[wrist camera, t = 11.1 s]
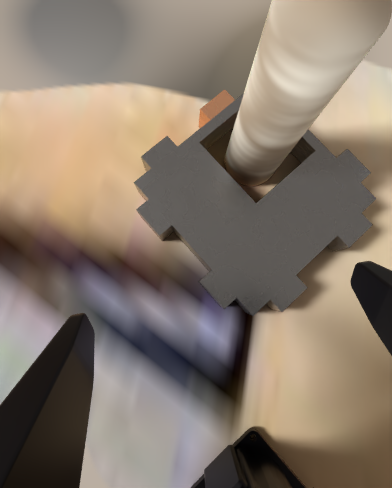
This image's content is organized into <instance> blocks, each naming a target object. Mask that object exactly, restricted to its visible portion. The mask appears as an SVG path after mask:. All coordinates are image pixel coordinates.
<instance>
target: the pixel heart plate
mask: <svg viewBox="0 0 392 488" xmlns="http://www.w3.org/2000/svg"><path fill="white" fill-rule="evenodd" d="M243 95H244V93H243V94H242V95H241V96H239V97H238V98H237V99H236V100H234V99H233V98H232V97H231V96H230V95H229V93H227V91H225V90H223V91H222V92H221V93H220V94H218V95H217V96H216V97H215V98H214V99H212V100H211V101H210V102H209V103H207V104H206V105H205V106H204V107H202V108H201V109H200V118H199V128H200V129H199V130H198V131H196V132H195V133H194V134H193V135H192V136H190V137H189V138H188V139H187V140H185V141H184V142H183V143H182V144H181V145H179V146H178V147H177V146H176V145H175V144H174V143H173V142H172V140H171V139H170V138H169V137H168V136H166V137H165V138H164V139H163V140H161V141H160V142H159V143H158V144H156V145H155V146H154V147H153V148H151V149H150V150H149V151H148V152H146V153H145V154H144V155H143V156H141V158H142V161H143V164H144V167H145V170H146V171H147V172H146V173H145V174H144V175H142V176H141V177H140V178H139V179H138V180H136V181H135V182H134V184H135V186H136V188H137V190H138V192H139V193H140V194H141V196H142V197H143V198H144V199H145V200H146V202H145V203H144V204H142V205H141V206H140V207H139V208H138V209H136V210H137V211H138V213H139V214H140V216H141V217H142V219H143V220H144V221H145V222H146V223H147V224H148V225H149V227H150V228H151V229H152V230H153V231H154V232H155V233H156V234H157V236H158V237H159V238H160V239H161V240H162V241H163V240H164V239H165V238H166V237H168V236H169V235H170V234H171V233H172V232H173V231H174V233H175V234H176V235H177V236H178V237H179V238H180V239H181V240H182V242H183V243H184V244H185V245H186V246H187V247H188V248H189V249H190V251H191V252H192V253H193V254H194V255H195V256H196V257H197V258H198V259H199V261H200V262H201V263H202V264H203V265H204V266H205V267H206V268H207V270H208V271H209V273H208V274H206V275H205V276H204V277H203V278H202V279H201V280H200V281H199V283H200V284H201V285H202V286H203V288H204V289H205V290H206V291H207V292H208V293H209V294H210V295H211V297H212V298H213V299H214V300H215V301H216V302H217V303H218V305H219V306H220V307H222V308H223V309H225V308H226V307H227V306H228V305H229V304H230V303H232V302H233V301H234V300H235V301H236V302H237V303H238V304H239V305H240V307H241V308H242V309H243V310H244V311H245V312H246V313H248V314H250V315H252V316H254V315H255V314H256V313H257V312H258V311H259V310H260V309H261V308H262V307H263V306H264V305H265V304H267V305H268V306H269V307H270V308H271V309H272V310H276V311H279V312H283V311H284V310H285V309H286V308H287V307H288V306H289V305H290V304H291V303H292V302H293V301H294V300H295V299H296V298H297V297H298V296H299V295H300V294H301V293H303V292H304V291H305V290H306V289H307V288H308V287H307V286H306V285H305V284H304V283H303V282H302V281H301V280H300V279H299V278H298V277H297V276H296V275H297V274H298V273H299V272H300V271H301V270H302V269H303V268H304V267H305V266H306V265H307V264H308V263H309V262H310V261H311V260H312V259H313V258H315V257H316V256H317V255H318V254H319V253H320V252H321V251H322V250H323V249H324V248H325V247H326V246H327V247H328V248H329V249H330V250H331V251H336V250H341V249H345V248H349V247H350V246H351V245H352V244H353V243H354V242H355V241H356V240H357V239H359V238H360V237H361V236H362V235H363V234H364V233H365V232H366V231H367V230H368V229H369V228H370V227H371V226H372V225H373V224H372V223H371V222H370V221H369V220H368V219H367V218H366V217H365V216H364V215H363V214H362V212H363V211H364V210H365V209H366V208H367V207H368V206H369V205H370V204H371V203H372V202H373V201H375V200H376V198H375V197H374V196H373V195H372V194H371V193H370V192H369V191H368V190H367V189H366V188H365V187H364V186H363V185H362V183H361V182H362V181H363V180H364V179H365V178H366V177H367V176H368V175H369V174H370V173H371V172H370V171H369V170H368V169H367V168H366V167H365V166H364V165H363V164H362V163H361V162H360V161H359V160H358V159H357V158H356V157H355V156H354V155H353V154H352V153H351V152H350V151H349V150H348V149H346V150H345V151H344V152H343V153H341V154H340V155H339V156H338V157H337V158H336V157H335V156H334V155H333V154H332V153H331V152H330V151H329V150H328V149H327V148H326V147H325V146H324V145H323V144H322V143H321V142H320V141H319V140H318V139H317V138H316V137H315V136H314V135H313V134H312V133H311V132H310V131H309V130H307V131H306V132H305V134H304V135H303V136H302V137H301V139H300V140H299V141H298V143H297V144H296V145H295V146H294V148H293V149H292V150H291V153H292V154H293V155H294V156H295V157H296V158H297V159H298V160H299V161H300V162H301V164H300V165H299V166H298V167H297V168H296V169H294V170H293V171H292V172H291V173H290V174H289V175H288V176H287V177H285V178H284V179H283V180H282V181H281V182H280V183H279V184H278V185H276V186H275V187H274V188H273V189H272V190H271V191H270V192H269V193H267V194H266V195H265V196H264V197H263V198H262V199H261V200H259V201H258V202H257V203H255V202H254V200H253V199H252V198H251V197H250V196H249V195H248V194H247V193H246V192H245V191H244V190H243V189H242V188H241V187H240V185H239V184H238V183H237V182H236V181H235V180H234V179H233V178H232V177H231V176H230V175H229V174H228V173H227V172H226V171H225V169H224V168H223V167H222V166H221V165H220V164H219V163H218V162H217V161H216V160H215V159H214V158H213V157H212V156H211V154H210V153H209V152H208V151H207V149H208V148H209V147H210V146H212V145H213V144H214V143H215V142H216V141H218V140H219V139H220V138H221V137H222V136H224V135H225V134H226V133H227V132H228V131H230V130H231V129H232V128H233V127H234V125H235V121H236V118H237V115H238V111H239V108H240V105H241V102H242V98H243Z"/></svg>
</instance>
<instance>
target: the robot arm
mask: <svg viewBox="0 0 392 488" xmlns="http://www.w3.org/2000/svg"><path fill="white" fill-rule="evenodd" d="M351 286H352V289H353V291H354V292H355V294H356V296H357V298H358V300H359V302H360V304H361V306H362V308H363V310H364V312H365V314H366V315H367V317H368V319H369V321H370V323H371V325H372V326H373V328H374V330H375V331H376V333H377V334H378V336H379V337H380V339H381V340H382V342H383V343H384V345H385V346H386V348H387V349H388V351H389V352H390V354H391V355H392V271H391V270H389V269H387V268H384V267H382V266H380V265H378V264H376V263H374V262H371V261H365V262H360V263H357V264H356V265H355V268H354V271H353V274H352V278H351ZM94 337H95V336H94V329H93V327H92V325H91V323H90V321H89V319H88V317H87V316H86V314H84V313H80V314H75V315H72V316H70V317H69V318H68V320H67V321H66V322H65V323H64V325H63V326H62V327H61V329H60V330H59V331H58V332H57V334H56V335H55V336H54V337H53V339H52V340H51V341H50V343H49V344H48V345H47V346H46V348H45V349H44V350H43V351H42V353H41V354H40V355H39V356H38V358H37V359H36V360H35V362H34V363H33V364H32V365H31V367H30V368H29V369H28V370H27V372H26V373H25V374H24V375H23V377H22V378H21V379H20V381H19V382H18V383H17V384H16V386H15V387H14V388H13V389H12V391H11V392H10V393H9V395H8V396H7V397H6V398H5V400H4V401H3V402H2V403H1V405H0V488H79V485H80V478H81V471H82V463H83V456H84V449H85V441H86V434H87V427H88V419H89V412H90V405H91V397H92V390H93V379H94ZM252 434H255V438H254V439H251V438H250V436H251V435H252ZM191 488H306V487H305V486H304V485H303V483H302V482H301V481H300V480H299V479H298V478H297V476H296V475H295V474H294V473H293V472H292V471H291V469H290V468H289V467H288V466H287V465H286V464H285V462H284V461H283V460H282V459H281V458H280V457H279V455H278V454H277V453H276V452H275V451H274V450H273V448H272V447H271V446H270V445H269V444H268V443H267V441H266V440H265V439H264V438H263V437H262V436H261V434H260V433H259V432H258V431H257V430H256V429H254V428H249V429H248V430H247V431H246V432H245V433H244V434H243V435H242V436H241V437H240V438H239V439H238V440H237V441H236V442H235V443H234V444H233V445H228V446H227V447H226V448H225V449H224V450H223V451H222V452H221V453H220V454H219V455H218V456H217V457H216V458H215V459H214V460H213V461H212V463H211V464H210V465H209V466H208V467H207V468H206V469H205V470H204V474H203V475H202V476H201V477H200V478H199V480H198V481H197V482H196V483H195V484H194V485H193V486H192V487H191ZM313 488H314V487H313Z"/></svg>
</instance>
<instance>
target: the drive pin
mask: <svg viewBox="0 0 392 488" xmlns="http://www.w3.org/2000/svg"><path fill="white" fill-rule="evenodd" d="M391 13H392V1H391V0H272V3H271V6H270V9H269V13H268V16H267V20H266V22H265V26H264V29H263V32H262V36H261V39H260V42H259V45H258V49H257V52H256V55H255V59H254V62H253V65H252V69H251V72H250V75H249V78H248V82H247V85H246V88H245V92H244V95H243V98H242V102H241V105H240V108H239V111H238V115H237V118H236V121H235V125H234V128H233V131H232V135H231V138H230V141H229V144H228V148H227V151H226V154H225V167H226V170H227V172H228V173H229V175H230V176H231V177H232V178H233V179H234V180H235V181H236V182H238V183H240V184H243V185H246V186H256V185H260V184H262V183H264V182H266V181H267V180H268V179H269V178H270V177H271V176H272V174H273V173H274V172H275V171H276V169H277V168H278V167H279V166H280V164H281V163H282V162H283V160H284V159H285V158H286V157H287V155H288V154H289V153H290V152H291V150H292V149H293V148H294V146H295V145H296V144H297V143H298V141H299V140H300V139H301V137H302V136H303V135H304V134H305V132H306V131H307V130H308V129H309V127H310V126H311V125H312V123H313V122H314V121H315V120H316V118H317V117H318V116H319V115H320V113H321V112H322V111H323V109H324V108H325V107H326V106H327V104H328V103H329V102H330V100H331V99H332V98H333V97H334V95H335V94H336V93H337V92H338V90H339V89H340V88H341V86H342V85H343V84H344V83H345V81H346V80H347V79H348V77H349V76H350V75H351V74H352V72H353V71H354V70H355V69H356V67H357V66H358V65H359V63H360V62H361V61H362V60H363V58H364V57H365V56H366V54H367V53H368V52H369V51H370V49H371V48H372V47H373V46H374V44H375V43H376V41H377V40H378V39H379V38H380V37H381V35H382V34H383V32H384V31H385V30H386V28H387V26H388V24H389V21H390V18H391Z"/></svg>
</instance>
